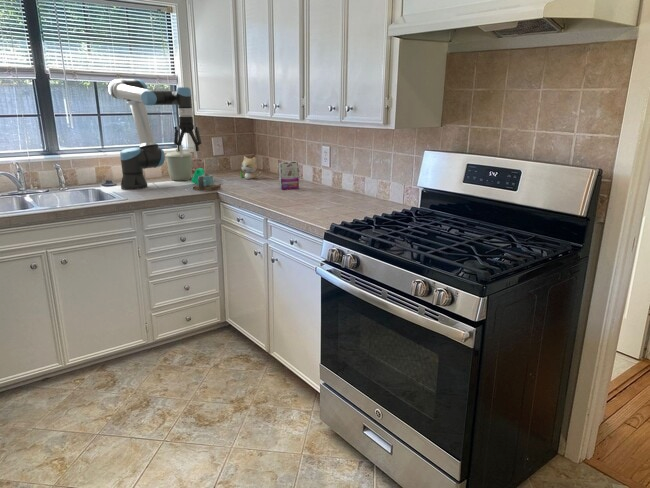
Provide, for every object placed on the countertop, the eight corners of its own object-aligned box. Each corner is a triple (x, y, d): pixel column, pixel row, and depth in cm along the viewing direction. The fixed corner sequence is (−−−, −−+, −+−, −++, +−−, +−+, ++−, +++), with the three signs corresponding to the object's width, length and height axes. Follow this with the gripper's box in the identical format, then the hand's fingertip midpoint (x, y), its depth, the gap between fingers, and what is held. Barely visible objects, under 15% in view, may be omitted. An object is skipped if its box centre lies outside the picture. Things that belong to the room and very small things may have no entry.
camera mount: (214, 184, 308) (213, 168, 305) (206, 186, 302) (205, 169, 299) (199, 182, 314) (198, 166, 311) (191, 184, 307) (190, 168, 304)
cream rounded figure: (235, 178, 328) (234, 156, 323) (245, 176, 336) (245, 154, 331) (252, 180, 320) (251, 158, 315) (262, 178, 328) (261, 156, 323)
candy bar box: (296, 187, 298) (296, 160, 293) (299, 188, 294) (298, 161, 289) (278, 188, 294) (278, 161, 289) (281, 190, 290) (280, 162, 285)
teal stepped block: (195, 188, 281) (194, 176, 279) (203, 183, 295) (202, 173, 293) (205, 188, 281) (204, 177, 279) (213, 183, 294) (212, 173, 292)
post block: (192, 190, 288) (191, 173, 285) (198, 187, 298) (197, 170, 295) (215, 190, 287) (214, 173, 284) (220, 187, 296) (219, 171, 293)
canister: (177, 176, 333) (174, 145, 327) (200, 178, 328) (197, 146, 322) (161, 181, 317) (157, 148, 310) (184, 182, 312) (182, 149, 305)
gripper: (165, 116, 268) (168, 157, 275) (201, 116, 266) (204, 158, 273) (170, 115, 275) (174, 155, 282) (205, 116, 273) (208, 156, 280)
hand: (188, 157), depth 277 cm, fingers open, 8 cm apart
